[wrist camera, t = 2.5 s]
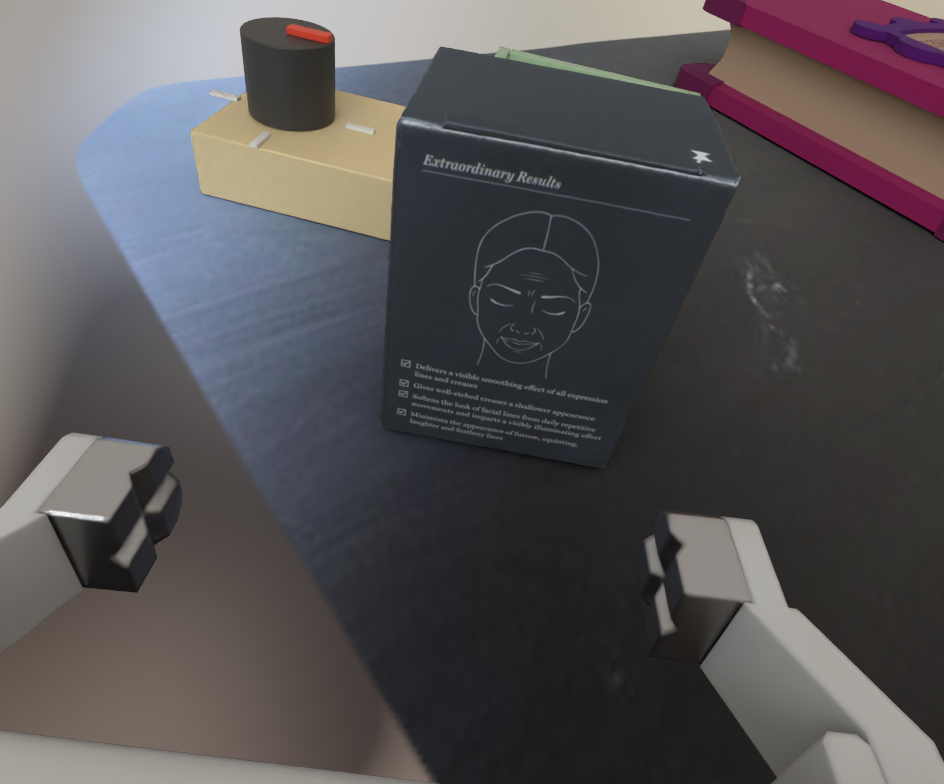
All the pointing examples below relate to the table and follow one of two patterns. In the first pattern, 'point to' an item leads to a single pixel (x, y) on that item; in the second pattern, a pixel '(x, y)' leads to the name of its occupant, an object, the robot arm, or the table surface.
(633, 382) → the box
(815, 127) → the book
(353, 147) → the panel
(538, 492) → the table surface
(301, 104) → the dial
